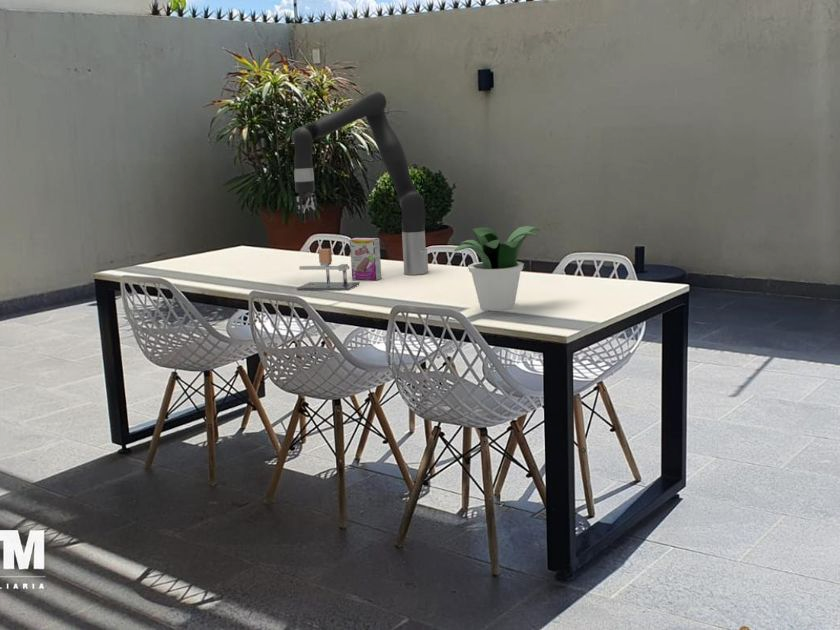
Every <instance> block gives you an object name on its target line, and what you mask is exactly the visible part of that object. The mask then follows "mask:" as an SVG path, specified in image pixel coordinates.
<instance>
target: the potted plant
mask: <svg viewBox="0 0 840 630" xmlns="http://www.w3.org/2000/svg"><path fill="white" fill-rule="evenodd" d="M471 231H472V234H474V236H475V238H476V240H477V241H476V240H474V239H468V240H465V241H462V242H460V243H459V246H456V248H454V250H453V251H454V252H457V251H460V250H461V251H462V250H465V249H471V250H472V251H474V252H475V253H476V254H477V255H478V257H479V258H480V259H481V262H479V261H478V262H474V263H471V264H469V265H467V269H468V271H469V273H471V275H472V280H473V284H474V288H475V292H476V296H477V300H478V304H479V309H481V310H484V311H488V310H489V312H490V311H491V312H493V311H494V312H496V311H507V310H512V309H514V308H515V305H516V300H517V299H516V298H517V293H518V288H519V281H520V275H521V271H523V270H524V265H525V263H523V262H521V261H518V255H519V252H520V251H519V250H520V248H521V247H522V244H523V242H524V240H525V239H526V238H527V237H528V236H533V237H538V235H537V234H536V233H533V232H532V231H536V232H541V229H540V228H539V227H536V226H530V225H528V226H527V225H525V226H520V227H518V228H517V229H516V230H515V229H514V231H513V232H512V233H511V234H510V236H509V237H507V240H506V241H503V242H501V239H499V237H498V235H497V233H496V232H495V230H494V229H493V228H490V227H475V228H472V230H471Z"/></svg>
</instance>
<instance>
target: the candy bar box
mask: <svg viewBox="0 0 840 630" xmlns="http://www.w3.org/2000/svg"><path fill="white" fill-rule="evenodd" d="M380 243H381V242H380V238H377V237H373V238H372V237H371V238H370V237H353V238H350V239H349V248H350V249H349V250H350V251H349V252H350V263H351V265H350V267H351V279H356V280H357V281H379V280H381V279H382V267H381V266H382V263H381V250H380V249H381V245H380Z"/></svg>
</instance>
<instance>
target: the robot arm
mask: <svg viewBox="0 0 840 630" xmlns="http://www.w3.org/2000/svg"><path fill="white" fill-rule="evenodd" d="M386 106H387V98H386V97H385V95H384V93H382V92H381V91H378V90H370V91H366V92H365V93H364V94H363V95H361V98H360V99H359V100H357V101H356V102H354V103H352V104H350V105H347V106H346V107H343V108H340V109H338V110H336V111H333V112H330V113H328V114H326V115H324V116H322V117H320V118H318V119H316V120H314V121H312V122H311V123H307V124H304V125H302V126H300V127H297V128H295V129H294V130H293V131H292V133H291V138H290V139H291V142H292V143H293V144H294V157H293V163H294V164H293V165H294V166H293V167H294V175H293V176H294V187H295V188H294V189H295V193H297V194H298V196H295V197H294V203H295V204H294V205H295V206H294V207H295V208H294V209H295V212H296V213H297V214H298V218H299V219H298V222H299V223H300V224H301V223H302V224H305V223H306V214H305V212H306V209H307V210H308V212H307V213H308V220H309V221H310V222H311V221H315V217H316V216H315V211H316V209H317V208H318V204H317V194H316V193H314V192H315V191H316V188H315V174H314V169H313V167H314V166H313V155H312V154H313V141H315V140H317V139H320V138H323V137H326V136H328V135H330V134H332V133H335V132H337V131H339V130H340V129H342V128H345V127H346V126H348V125H350V124H351V123H353V122H355V121H358V120H360V119H364V118H366V121H367V122H368V124H369V127H370V129H371V132H372V134H373V139H374V141H375V144H376V147H377V149H378V152H379V155H380V158H381V160H382V163H383V165H384V167H385V169H386V171H387V174H388V176H389V177H390V179H391V182H392V184H393V186H394V189H395V191H396V192H395V193H396V195H397V199H398V204H399V206H400V209H401V236H402V237H401V239H402V256H403V257H402V258H403V273H404V275H407V276H414V275H415V276H416V275H425V274H427V273H429V260H428V259H429V258H428V248H426V233H425V232H426V231H425V225H426V210H425V201H424V198H423V196H422V195H421V194H420V193H419V192H418V191H417V188H416V186H415V184H414V183H413V180H412V178H411V175H410V174H411V173H410V171H409V164H408V160H407V157H406V154H405V151H404V148H403V146H402V144H401V141H400V139H399V137H398V136H397V134H396V133H395V131H394V130H393V129H392V126H390V124H389V121H388V119H387V116H386V113H385V108H386Z"/></svg>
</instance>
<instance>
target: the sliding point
mask: <svg viewBox="0 0 840 630" xmlns="http://www.w3.org/2000/svg"><path fill="white" fill-rule="evenodd" d="M332 258H333V257H332V248H321V249H320V248H319V249H318V260H319V262H318V263H319V264H320V265H319V266H331V265H332V262H333V260H332ZM325 273H326V274H325V275H326V282H327V284H330V282H331V280H330V279H331V278H330V270H325Z"/></svg>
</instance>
